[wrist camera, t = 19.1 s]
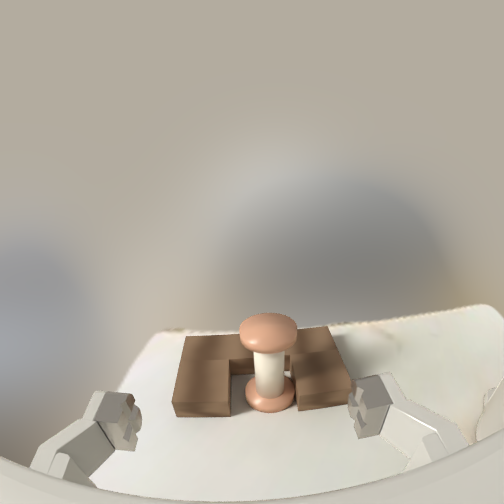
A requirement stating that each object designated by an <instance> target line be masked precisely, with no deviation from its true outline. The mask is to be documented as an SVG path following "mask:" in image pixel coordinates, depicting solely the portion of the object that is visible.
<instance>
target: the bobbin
mask: <svg viewBox="0 0 504 504" xmlns="http://www.w3.org/2000/svg"><path fill="white" fill-rule="evenodd" d="M239 331H240V341H241V343H242V345H243V346H244V347H245V348H247V349H248V350H250V351H253V352H254V367H255V377H254V378H252V379H251V380H250V381H249V382H248V383H247V385H246V388H245V394H246V400H247V402H248V404H249V405H250V406H251V407H252V408H253V409H255V410H257V411H260V412H265V413H274V412H279V411H282V410H284V409H286V408H287V407H289V406H290V405H291V404H292V402H293V400H294V397H295V386H294V383H293V382H292V381H291V380H290V379H289V378H288V377H286V376H284V351H285V350H287V349H288V348H290V347H291V346H292V345H293V344H294V343H295V342H296V339H297V325H296V323H295V321H294V320H292V319H291V318H290V317H287V316H285V315H282V314H277V313H262V314H257V315H254V316H252V317H249V318H247V319H246V320H244V321H243V322H242V324H241V325H240V329H239Z"/></svg>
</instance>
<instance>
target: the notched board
mask: <svg viewBox="0 0 504 504" xmlns="http://www.w3.org/2000/svg"><path fill="white" fill-rule="evenodd" d="M284 371H290V374H291V379H292V382H293V383H294V386H295V397H296V402H297V407H298V411H304V410H312V409H319V408H326V407H332V406H338V405H344V404H348V395H349V394H350V393H351V392H352V390H351V388H350V385H351V379H350V377H349V374H348V372H347V370H346V367H345V365H344V363H343V360H342V358H341V356H340V354H339V351H338V349H337V347H336V345H335V342H334V340H333V338H332V336H331V333H330V331H329V329H328V327H327V326H325V327H316V328H307V329H297V339H296V342H295V343H294V344H293V345H292V346H291V347H290V348H288V349H287V350H285V351H284ZM239 374H255V367H254V352H253V351H250V350H248V349H247V348H245V347H244V346H243V345H242V343H241V341H240V334H231V335H211V336H186V338H185V343H184V347H183V351H182V356H181V360H180V365H179V369H178V374H177V378H176V383H175V388H174V392H173V397H172V404H173V407H174V410H175V413H176V416H177V417H230V413H231V375H239Z"/></svg>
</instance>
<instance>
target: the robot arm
mask: <svg viewBox="0 0 504 504" xmlns="http://www.w3.org/2000/svg"><path fill="white" fill-rule="evenodd" d="M350 388H351V390H352V392H351V393H350V394H349V395H348V410H349V414H350V417H351V418H352V419H354V420H355V423H354V428H355V431H356V434H357V437H358V439H361V438H366V437H371V436H375V435H379V436H380V437H382V438H383V439H384V440H386V441H387V442H388V443H389V444H391V445H392V446H393V447H395V448H396V449H397V450H398V451H400V452H401V453H402V454H404V455H405V456H406V457H408V458H409V459H410V461H409V463H408V464H407V466H406V467H405V469H404V471H403V473H400V474H397V475H394V476H391V477H387V478H384V479H381V480H377V481H373V482H370V483H366V484H362V485H358V486H354V487H349V488H345V489H340V490H335V491H330V492H324V493H319V494H312V495H306V496H299V497H291V498H282V499H271V500H258V501H235V502H207V501H184V500H171V499H160V498H151V497H144V496H137V495H130V494H124V493H118V492H113V491H108V490H103V489H99V488H97V487H96V485H95V484H94V483H93V482H92V481H91V480H90V479H89V478H88V477H89V476H90V475H91V474H93V473H94V472H95V471H96V470H97V469H98V468H99V467H100V466H101V465H102V464H103V463H104V462H105V461H106V459H107V458H108V457H109V456H110V455H111V454H112V453H113V452H114V451H115V450H124V451H135V448H136V444H137V441H138V438H137V436H136V433H137V432H138V431H140V429H141V425H142V416H141V412H140V409H139V408H138V407H137V406H136V405H134V403H135V399H134V397H133V395H132V394H128V393H118V392H106V391H95V392H94V394H93V396H92V398H91V400H90V402H89V404H88V407H87V409H86V411H85V413H84V416H83V418H82V419H78V420H76V421H75V422H74V423H72V424H71V425H69V426H68V427H67V428H65V429H64V430H62V431H61V432H59V433H58V434H56V435H55V436H53V437H52V438H50V439H49V440H47V441H46V442H45V443H43V444H42V445H40V446H39V448H38V450H37V453H36V455H35V457H34V459H33V461H32V463H31V465H30V468H27V467H25V466H22V465H20V464H17V463H15V462H12V461H10V460H8V459H5V458H3V457H1V456H0V504H504V376H503V378H502V380H501V381H500V383H499V385H498V386H497V387H496V388H492V389H489V390H488V392H487V393H486V395H485V396H484V411H483V413H482V415H481V417H480V419H479V421H478V425H477V430H476V440H477V442H476V443H474V444H472V445H470V446H469V444H468V442H467V441H466V439H465V437H464V436H463V434H462V432H461V430H460V429H459V427H458V425H457V424H456V423H455V422H453V421H451V420H449V419H447V418H445V417H443V416H441V415H439V414H437V413H435V412H433V411H431V410H429V409H427V408H425V407H424V406H422V405H420V404H418V403H416V402H414V401H412V400H406V398H405V396H404V394H403V392H402V391H401V389H400V387H399V385H398V384H397V382H396V380H395V378H394V377H393V375H392V373H390V372H386V373H382V374H377V375H372V376H367V377H363V378H358V379H353V380H352V381H351V385H350Z"/></svg>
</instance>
